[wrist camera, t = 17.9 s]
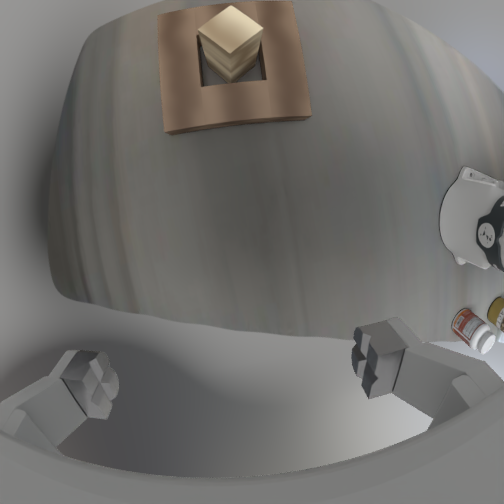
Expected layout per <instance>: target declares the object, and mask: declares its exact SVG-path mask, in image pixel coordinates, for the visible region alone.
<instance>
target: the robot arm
mask: <svg viewBox="0 0 504 504" xmlns="http://www.w3.org/2000/svg"><path fill="white" fill-rule="evenodd" d="M440 232H441V237H442V240H443V242H444V244H445V246H446V247H447V248H448V250H450V251H451V252H452V253H453V255H454V258H455V261H456V263H457V264H460V265H463V264H465V263H467V262H469V263H471V264H474V265H476V266H478V267H480V268H483V269H487V268H489V267H491V266H493V267H495V268H496V269H497V270H499V271H502V272H504V181H501V180H496V179H494V178H492V177H490V176H487V175H485V174H483V173H481V172H478V171H476V170H474V169H471V168H469V167H465V166H464V167H463V168H462V169H461V171H460V174H459V177H458V179H457V180H456V182H455V183H454V184H453V185H452V186H451V187H450V188H449V190H448V192H447V193H446V196H445V198H444V201H443V204H442V207H441V213H440ZM353 339H354V340H355V342H356V345H355V346H354V347H353V349H352V355H351V359H352V366H353V369H354V372H355V374H356V376H358V377H360V378H362V387H363V389H364V391H365V393H366V395H367V397H368V399H371V398H375V397H378V396H382V395H385V394H389V393H392V392H393V394H394V395H395V396H397V397H399V398H400V399H402V400H404V401H405V402H407V403H409V404H410V405H412V406H413V407H415V408H417V409H418V410H420V411H422V412H423V413H425V414H427V415H428V416H430V417H432V418H433V421H432V422H431V424H430V426H429V428H428V429H427V431H425V432H423V433H421V434H419V435H416V436H414V437H412V438H409V439H407V440H405V441H402V442H400V443H397V444H394V445H392V446H389V447H387V448H383V449H381V450H378V451H375V452H372V453H369V454H365V455H362V456H359V457H355V458H352V459H348V460H345V461H341V462H337V463H333V464H329V465H324V466H320V467H316V468H310V469H305V470H299V471H293V472H287V473H280V474H272V475H262V476H252V477H236V478H184V477H170V476H158V475H150V474H142V473H135V472H129V471H123V470H117V469H113V468H108V467H103V466H99V465H95V464H90V463H87V462H83V461H79V460H75V459H72V458H69V457H66V456H63V454H62V453H61V452H60V451H59V450H58V449H57V448H56V447H57V446H58V445H59V444H60V443H61V442H62V441H63V440H64V439H65V438H66V437H67V436H69V435H70V434H71V433H72V432H73V431H74V430H75V429H76V428H77V427H78V426H79V425H80V424H82V423H83V422H84V421H85V420H86V419H87V417H91V418H99V419H107V418H108V415H109V413H110V411H111V408H112V403H111V400H112V399H113V398H115V397H116V396H117V393H118V390H119V381H118V378H117V375H116V373H115V371H114V370H113V369H111V368H110V367H109V363H110V360H109V359H108V357H107V355H106V353H104V352H100V351H83V350H80V351H79V350H68V351H66V353H65V354H64V355H63V357H62V358H61V359H60V361H59V362H58V364H57V365H56V366H55V368H54V369H53V371H52V372H51V373H50V375H49V377H46V376H45V377H43V378H42V379H40V380H38V381H37V382H35V383H33V384H31V385H30V386H28V387H26V388H24V389H23V390H21V391H19V392H18V393H16V394H14V395H12V396H11V397H9V398H7V399H6V400H4V401H2V402H1V403H0V504H504V381H503V380H502V379H501V378H500V377H499V376H498V375H497V374H496V373H495V372H494V370H493V369H491V368H490V366H489V365H488V364H487V363H486V362H485V361H481V360H478V359H475V358H472V357H469V356H466V355H463V354H460V353H457V352H454V351H451V350H448V349H445V348H443V347H439V346H437V345H434V344H431V343H428V342H425V343H422V342H421V341H420V339H419V338H418V337H417V336H416V335H415V334H414V333H413V332H412V331H411V330H410V328H409V327H408V326H407V325H406V324H405V323H404V322H403V321H402V320H401V319H400V318H398V317H395V318H391V319H387V320H384V321H382V322H378V323H374V324H369V325H365V326H360V327H356V328H355V331H354V336H353Z"/></svg>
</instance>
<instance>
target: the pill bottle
mask: <svg viewBox="0 0 504 504" xmlns="http://www.w3.org/2000/svg"><path fill="white" fill-rule="evenodd" d="M452 330H453V331H454V332H455V333H456V334H457V335H458V336H459V337H460V338H461V339H462V340H463V341H464V342H465V343H466V344H468V346H469V347H470V348H472V349H474V350H477V349H478V350H479V351H480V353H482V354H485V353H487V352H488V350H490V348H491V347H492V345H493V343H494V341H495V335H494V334H493V333H492V332H490V327H489V326H488V325H487V324H486V323H485V322H484V321H483V320H481V319H480V318H479V317H478V316H476V315H475V314H474V313H473V312H471V311H470V310H469V309H463V310H461V311H460V312H459V313H458V314H457V315H456V317H455V318H454V320H453V323H452Z"/></svg>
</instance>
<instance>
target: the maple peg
mask: <svg viewBox="0 0 504 504" xmlns="http://www.w3.org/2000/svg"><path fill="white" fill-rule="evenodd" d="M262 32H263V27H261V26H260V25H259V24H257V23H256V22H255V21H253V20H252V19H250V18H249V17H248V16H246V15H245V14H243V13H242V12H241V11H239V10H238V9H236V8H235V7H233V6H232V5H230V6H229V7H227V8H226V9H225V10H223V11H222V12H220V13H219V14H218V15H216V16H215V17H213V18H212V19H211V20H209V21H208V22H207V23H205V24H204V25H203V26H202V27H200V28H199V29H198V33H199V36H200V40H201V43H202V47H203V50H204V54H205V57H206V61H207V64H208V67H209V68H210V69H212V70H213V71H214V72H215V73H217V74H218V75H219V76H220V77H221V78H223V79H224V80H225V81H226V82H227V83H235V82H236V81H238V80H239V79H240V78H241V77H242V76H243V75H244V74H246V73H247V72H248V71H249V70H250V69H252V68H253V67H254V66H255V63H256V59H257V54H258V50H259V45H260V41H261V37H262Z"/></svg>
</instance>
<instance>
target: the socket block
mask: <svg viewBox="0 0 504 504" xmlns="http://www.w3.org/2000/svg"><path fill="white" fill-rule="evenodd" d="M230 5H232V6H233V7H235V8H236V9H238V10H239V11H241V12H242V13H243V14H245V15H246V16H248V17H249V18H250V19H252V20H253V21H255V22H256V23H257V24H259V25H260V26H261V27H263V32H262V37H261V41H260V45H259V50H258V51H259V58H260V65H261V72H262V79H263V80H261V81H248V82H237V83H228V84H220V85H213V86H206V87H204V86H203V76H202V66H201V55H200V46H202V43H201V40H200V36H199V33H198V29H199V28H200V27H202V26H203V25H204V24H205V23H207V22H208V21H209V20H211V19H212V18H213V17H215V16H216V15H218V14H219V13H220V12H222V11H223V10H225V9H226V8H227V7H229V6H230ZM158 54H159V73H160V88H161V101H162V112H163V122H164V132H165V133H168V134H170V135H175V134H181V133H186V132H192V131H198V130H204V129H211V128H218V127H226V126H234V125H243V124H253V123H264V122H278V121H296V120H305V119H307V118H309V117H310V116H312V113H311V105H310V98H309V91H308V84H307V77H306V71H305V65H304V59H303V53H302V48H301V43H300V37H299V32H298V27H297V23H296V18H295V13H294V9H293V4H292V1H251V2H235V3H224V4H216V5H208V6H201V7H195V8H189V9H184V10H179V11H174V12H169V13H165V14H161V15H158Z"/></svg>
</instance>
